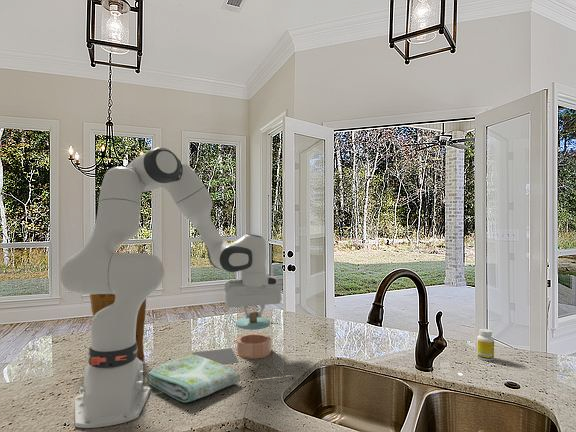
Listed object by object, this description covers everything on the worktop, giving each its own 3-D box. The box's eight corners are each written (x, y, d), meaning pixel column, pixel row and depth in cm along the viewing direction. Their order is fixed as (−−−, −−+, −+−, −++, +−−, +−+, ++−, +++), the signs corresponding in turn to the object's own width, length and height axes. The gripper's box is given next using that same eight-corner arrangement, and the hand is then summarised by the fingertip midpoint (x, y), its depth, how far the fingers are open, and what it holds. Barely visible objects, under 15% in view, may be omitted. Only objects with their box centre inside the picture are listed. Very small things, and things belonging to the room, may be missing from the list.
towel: (195, 365, 126) (195, 349, 126) (241, 384, 113) (241, 367, 112) (144, 384, 112) (144, 366, 112) (189, 409, 99) (189, 389, 98)
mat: (239, 363, 129) (239, 362, 129) (195, 368, 124) (195, 367, 124) (231, 349, 142) (231, 348, 142) (192, 353, 138) (192, 352, 138)
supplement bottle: (496, 361, 132) (496, 333, 132) (479, 360, 133) (479, 332, 133) (491, 356, 138) (491, 328, 137) (474, 354, 139) (475, 327, 139)
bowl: (274, 357, 135) (274, 342, 135) (240, 360, 131) (240, 346, 131) (265, 345, 146) (265, 332, 146) (234, 349, 142) (234, 335, 142)
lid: (274, 327, 136) (275, 315, 135) (240, 331, 131) (240, 318, 131) (264, 317, 147) (264, 306, 147) (232, 320, 143) (232, 308, 143)
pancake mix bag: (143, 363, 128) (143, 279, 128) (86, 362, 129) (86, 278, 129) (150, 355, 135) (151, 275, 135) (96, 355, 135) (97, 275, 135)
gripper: (226, 282, 132) (226, 322, 133) (283, 279, 139) (282, 317, 139) (223, 279, 138) (222, 317, 139) (277, 276, 145) (277, 313, 145)
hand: (253, 317), depth 139 cm, fingers closed on lid, 3 cm apart
